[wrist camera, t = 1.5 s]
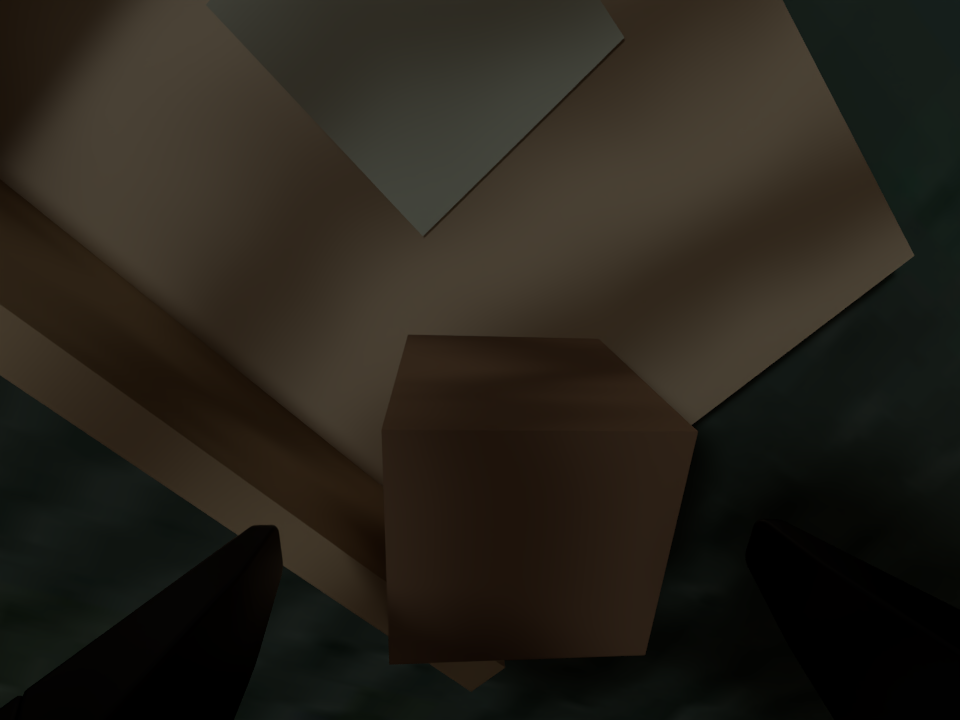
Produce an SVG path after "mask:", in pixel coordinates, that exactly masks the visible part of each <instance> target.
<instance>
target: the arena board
mask: <svg viewBox="0 0 960 720" xmlns="http://www.w3.org/2000/svg"><path fill="white" fill-rule="evenodd" d="M913 256H914V254H913V252H912V250H911V248H910V246H909V244H908V242H907V240H906V239H905V237H904V235H903V233H902V231H901V229H900V227H899V225H898V223H897V221H896V219H895V217H894V215H893V213H892V211H891V209H890V208H889V206H888V204H887V202H886V200H885V198H884V196H883V194H882V192H881V190H880V188H879V186H878V184H877V182H876V180H875V179H874V177H873V175H872V173H871V171H870V169H869V167H868V165H867V163H866V161H865V159H864V157H863V155H862V153H861V151H860V149H859V148H858V146H857V144H856V142H855V140H854V138H853V136H852V134H851V132H850V130H849V128H848V126H847V124H846V122H845V120H844V118H843V117H842V115H841V113H840V111H839V109H838V107H837V105H836V103H835V101H834V99H833V97H832V95H831V93H830V91H829V89H828V88H827V86H826V84H825V82H824V80H823V78H822V76H821V74H820V72H819V70H818V68H817V66H816V64H815V62H814V60H813V58H812V57H811V55H810V53H809V51H808V49H807V47H806V45H805V43H804V41H803V39H802V37H801V35H800V33H799V31H798V29H797V27H796V26H795V24H794V22H793V20H792V18H791V16H790V14H789V12H788V10H787V8H786V6H785V4H784V2H783V0H0V375H1V376H2V377H4V378H5V379H7V380H8V381H10V382H11V383H13V384H14V385H16V386H17V387H19V388H20V389H22V390H23V391H25V392H26V393H28V394H29V395H31V396H32V397H34V398H35V399H36V400H38V401H39V402H41V403H42V404H44V405H45V406H47V407H48V408H50V409H51V410H53V411H54V412H56V413H57V414H59V415H60V416H62V417H63V418H65V419H66V420H68V421H69V422H71V423H72V424H74V425H75V426H77V427H78V428H80V429H81V430H83V431H84V432H86V433H87V434H89V435H90V436H92V437H93V438H94V439H96V440H97V441H99V442H100V443H102V444H103V445H105V446H106V447H108V448H109V449H111V450H112V451H114V452H115V453H117V454H118V455H120V456H121V457H123V458H124V459H126V460H127V461H129V462H130V463H132V464H133V465H135V466H136V467H138V468H139V469H141V470H142V471H144V472H145V473H147V474H148V475H150V476H151V477H153V478H154V479H155V480H157V481H158V482H160V483H161V484H163V485H164V486H166V487H167V488H169V489H170V490H172V491H173V492H175V493H176V494H178V495H179V496H181V497H182V498H184V499H185V500H187V501H188V502H190V503H191V504H193V505H194V506H196V507H197V508H199V509H200V510H202V511H203V512H205V513H206V514H208V515H209V516H211V517H212V518H213V519H215V520H216V521H218V522H219V523H221V524H222V525H224V526H225V527H227V528H228V529H230V530H231V531H233V532H234V533H236V534H237V535H239V534H241V533H242V532H243V531H245V530H246V529H248V528H249V527H251V526H253V525H275V526H276V527H277V528H278V530H279V535H280V543H281V550H282V558H283V566H285V567H286V568H288V569H289V570H291V571H292V572H294V573H295V574H297V575H298V576H300V577H301V578H303V579H304V580H306V581H307V582H309V583H310V584H312V585H313V586H315V587H316V588H318V589H319V590H321V591H322V592H324V593H325V594H327V595H328V596H330V597H331V598H332V599H334V600H335V601H337V602H338V603H340V604H341V605H343V606H344V607H346V608H347V609H349V610H350V611H352V612H353V613H355V614H356V615H358V616H359V617H361V618H362V619H364V620H365V621H367V622H368V623H370V624H371V625H373V626H374V627H376V628H377V629H379V630H380V631H382V632H383V633H385V634H386V635H388V608H387V579H386V550H385V521H384V492H383V463H382V434H381V429H382V426H383V422H384V419H385V415H386V412H387V408H388V404H389V401H390V397H391V394H392V390H393V386H394V383H395V379H396V376H397V372H398V369H399V365H400V361H401V358H402V354H403V351H404V347H405V343H406V340H407V336H408V335H453V336H498V337H544V338H590V339H600V340H601V341H602V342H603V343H604V344H605V345H606V346H607V347H608V348H609V349H610V350H611V351H612V352H613V353H615V354H616V355H617V356H618V357H619V358H620V359H621V360H622V361H623V362H624V363H625V364H626V365H627V366H628V367H629V368H631V369H632V370H633V371H634V372H635V373H636V374H637V375H638V376H639V377H640V378H641V379H642V380H643V381H644V382H646V383H647V384H648V385H649V386H650V387H651V388H652V389H653V390H654V391H655V392H656V393H657V394H658V395H659V396H661V397H662V398H663V399H664V400H665V401H666V402H667V403H668V404H669V405H670V406H671V407H672V408H673V409H674V410H676V411H677V412H678V413H679V414H680V415H681V416H682V417H683V418H684V419H685V420H686V421H687V422H688V423H689V424H691V425H692V424H694V423H695V422H696V421H698V420H699V419H700V418H701V417H703V416H704V415H705V414H707V413H708V412H709V411H711V410H712V409H713V408H715V407H716V406H717V405H719V404H720V403H721V402H722V401H724V400H725V399H726V398H728V397H729V396H730V395H732V394H733V393H734V392H736V391H737V390H738V389H740V388H741V387H742V386H744V385H745V384H746V383H747V382H749V381H750V380H751V379H753V378H754V377H755V376H757V375H758V374H759V373H761V372H762V371H763V370H765V369H766V368H767V367H769V366H770V365H771V364H772V363H774V362H775V361H776V360H778V359H779V358H780V357H782V356H783V355H784V354H786V353H787V352H788V351H790V350H791V349H792V348H793V347H795V346H796V345H797V344H799V343H800V342H801V341H803V340H804V339H805V338H807V337H808V336H809V335H811V334H812V333H813V332H815V331H816V330H817V329H818V328H820V327H821V326H822V325H824V324H825V323H826V322H828V321H829V320H830V319H832V318H833V317H834V316H836V315H837V314H838V313H839V312H841V311H842V310H843V309H845V308H846V307H847V306H849V305H850V304H851V303H853V302H854V301H855V300H857V299H858V298H859V297H861V296H862V295H863V294H864V293H866V292H867V291H868V290H870V289H871V288H872V287H874V286H875V285H876V284H878V283H879V282H880V281H882V280H883V279H884V278H885V277H887V276H888V275H889V274H891V273H892V272H893V271H895V270H896V269H897V268H899V267H900V266H901V265H903V264H904V263H905V262H907V261H908V260H909V259H910V258H912V257H913ZM429 664H431V665H432V666H434V667H435V668H437V669H438V670H440V671H441V672H443V673H444V674H446V675H447V676H449V677H450V678H451V679H453V680H454V681H456V682H457V683H459V684H460V685H462V686H463V687H465V688H466V689H468V690H469V691H473V690H474V689H476V688H477V687H478V686H480V685H481V684H483V683H484V682H485V681H487V680H488V679H490V678H491V677H493V676H494V675H495V674H497V673H498V672H500V671H501V670H502V669H504V668H505V663H504V660H498V661H471V662H444V663H429Z"/></svg>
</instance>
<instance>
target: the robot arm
mask: <svg viewBox="0 0 960 720" xmlns="http://www.w3.org/2000/svg"><path fill="white" fill-rule="evenodd" d="M746 562H747V565H748V568H749V570H750V572H751V574H752V576H753V578H754V579H755V581H756V583H757V585H758V587H759V589H760V591H761V593H762V595H763V597H764V599H765V601H766V603H767V605H768V607H769V609H770V611H771V613H772V615H773V617H774V619H775V620H776V622H777V624H778V626H779V628H780V630H781V632H782V634H783V636H784V638H785V640H786V641H787V643H788V645H789V647H790V649H791V650H792V652H793V654H794V655H795V657H796V659H797V660H798V662H799V664H800V665H801V667H802V668H803V670H804V672H805V673H806V675H807V677H808V678H809V680H810V681H811V683H812V685H813V686H814V688H815V689H816V691H817V693H818V694H819V696H820V697H821V699H822V701H823V702H824V704H825V705H826V707H827V709H828V710H829V712H830V714H831V715H832V717H833V718H834V720H960V610H959V609H957V608H955V607H953V606H951V605H949V604H947V603H945V602H943V601H941V600H939V599H938V598H936V597H934V596H932V595H930V594H928V593H926V592H924V591H922V590H920V589H918V588H916V587H914V586H912V585H910V584H908V583H906V582H904V581H902V580H900V579H898V578H896V577H894V576H892V575H890V574H888V573H886V572H884V571H882V570H880V569H878V568H876V567H874V566H872V565H870V564H868V563H866V562H864V561H862V560H860V559H858V558H856V557H854V556H852V555H850V554H848V553H846V552H844V551H842V550H840V549H838V548H836V547H834V546H832V545H830V544H828V543H826V542H824V541H822V540H820V539H818V538H816V537H814V536H812V535H810V534H809V533H807V532H805V531H803V530H801V529H799V528H797V527H795V526H793V525H791V524H789V523H787V522H785V521H782V520H779V519H761V520H758V521H757V522H756V523H755V524H754V526H753V530H752V533H751V536H750V539H749V543H748V546H747V549H746ZM282 569H283V558H282V550H281V543H280V535H279V530H278V528H277V527H276V526H275V525H253V526H251V527H249V528H248V529H246V530H245V531H243V532H242V533H241V534H239V535H238V536H237V537H235V538H234V539H233V540H231V541H230V542H228V543H227V544H226V545H224V546H223V547H222V548H220V549H219V550H217V551H216V552H215V553H213V554H212V555H211V556H209V557H208V558H206V559H205V560H204V561H202V562H201V563H200V564H198V565H197V566H195V567H194V568H193V569H191V570H190V571H189V572H187V573H186V574H184V575H183V576H182V577H180V578H179V579H178V580H176V581H175V582H174V583H172V584H171V585H169V586H168V587H167V588H165V589H164V590H163V591H161V592H160V593H158V594H157V595H156V596H154V597H153V598H152V599H150V600H149V601H147V602H146V603H145V604H143V605H142V606H141V607H139V608H138V609H136V610H135V611H134V612H132V613H131V614H130V615H128V616H127V617H125V618H124V619H123V620H121V621H120V622H119V623H117V624H116V625H115V626H113V627H112V628H110V629H109V630H108V631H106V632H105V633H104V634H102V635H101V636H99V637H98V638H97V639H95V640H94V641H93V642H91V643H90V644H88V645H87V646H86V647H84V648H83V649H82V650H80V651H79V652H77V653H76V654H75V655H73V656H72V657H71V658H69V659H68V660H66V661H65V662H64V663H62V664H61V665H60V666H58V667H57V668H56V669H54V670H53V671H51V672H50V673H49V674H47V675H46V676H45V677H43V678H42V679H40V680H39V681H38V682H36V683H35V684H34V685H32V686H31V687H29V688H28V689H27V690H26V691H25V692H24V694H23V696H17V697H15V698H14V699H13V700H11V701H10V702H9V703H7V704H6V705H4V706H3V707H2V708H0V720H234V718H235V716H236V713H237V711H238V708H239V706H240V703H241V701H242V698H243V696H244V693H245V691H246V688H247V686H248V683H249V680H250V678H251V675H252V672H253V670H254V667H255V664H256V661H257V658H258V654H259V651H260V648H261V644H262V641H263V637H264V634H265V631H266V627H267V624H268V620H269V617H270V613H271V610H272V606H273V603H274V599H275V596H276V592H277V589H278V585H279V582H280V578H281V575H282Z"/></svg>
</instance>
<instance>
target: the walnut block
mask: <svg viewBox="0 0 960 720" xmlns="http://www.w3.org/2000/svg"><path fill="white" fill-rule="evenodd" d="M381 434H382V463H383V492H384V521H385V550H386V579H387V608H388V637H389V665H390V664H417V663H444V662H471V661H498V660H525V659H552V658H579V657H606V656H633V655H645V654H646V649H647V645H648V641H649V637H650V633H651V628H652V624H653V620H654V616H655V611H656V607H657V603H658V599H659V594H660V590H661V586H662V582H663V578H664V573H665V569H666V565H667V561H668V556H669V552H670V548H671V544H672V539H673V535H674V531H675V527H676V523H677V518H678V514H679V510H680V506H681V501H682V497H683V493H684V489H685V484H686V480H687V476H688V472H689V468H690V463H691V459H692V455H693V451H694V446H695V442H696V438H697V434H698V431H697V430H696V429H695V428H694V427H693V426H692V425H691V424H689V423H688V422H687V421H686V420H685V419H684V418H683V417H682V416H681V415H680V414H679V413H678V412H677V411H676V410H674V409H673V408H672V407H671V406H670V405H669V404H668V403H667V402H666V401H665V400H664V399H663V398H662V397H661V396H659V395H658V394H657V393H656V392H655V391H654V390H653V389H652V388H651V387H650V386H649V385H648V384H647V383H646V382H644V381H643V380H642V379H641V378H640V377H639V376H638V375H637V374H636V373H635V372H634V371H633V370H632V369H631V368H629V367H628V366H627V365H626V364H625V363H624V362H623V361H622V360H621V359H620V358H619V357H618V356H617V355H616V354H615V353H613V352H612V351H611V350H610V349H609V348H608V347H607V346H606V345H605V344H604V343H603V342H602V341H601V340H600V339H590V338H544V337H498V336H453V335H408V336H407V340H406V343H405V347H404V351H403V354H402V358H401V361H400V365H399V369H398V372H397V376H396V379H395V383H394V386H393V390H392V394H391V397H390V401H389V404H388V408H387V412H386V415H385V419H384V422H383V426H382V429H381Z"/></svg>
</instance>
